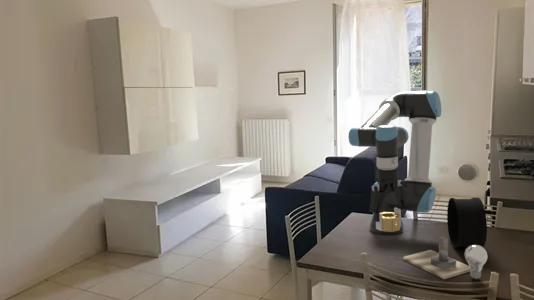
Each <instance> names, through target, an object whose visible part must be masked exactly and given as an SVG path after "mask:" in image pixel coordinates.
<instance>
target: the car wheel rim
mask: <svg viewBox="0 0 534 300" xmlns="http://www.w3.org/2000/svg"><path fill="white" fill-rule="evenodd" d="M446 212H447V213H446V219H447V220H446V221H447V231H448V236H449V238H448V239H449V241H450V244H451V246H452V247H453V248H458V247H466V248H467V247H469V246H470V245H480V246H482V247H483V248H485V245H486V242H487V236H488V223H487V222H488V221H487V215H486V214H487V213H486V209H485V206H484V203H483V201H482V199H481V198H480V197H472V198H455V197H450V198H449V199H448V202H447V211H446Z"/></svg>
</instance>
